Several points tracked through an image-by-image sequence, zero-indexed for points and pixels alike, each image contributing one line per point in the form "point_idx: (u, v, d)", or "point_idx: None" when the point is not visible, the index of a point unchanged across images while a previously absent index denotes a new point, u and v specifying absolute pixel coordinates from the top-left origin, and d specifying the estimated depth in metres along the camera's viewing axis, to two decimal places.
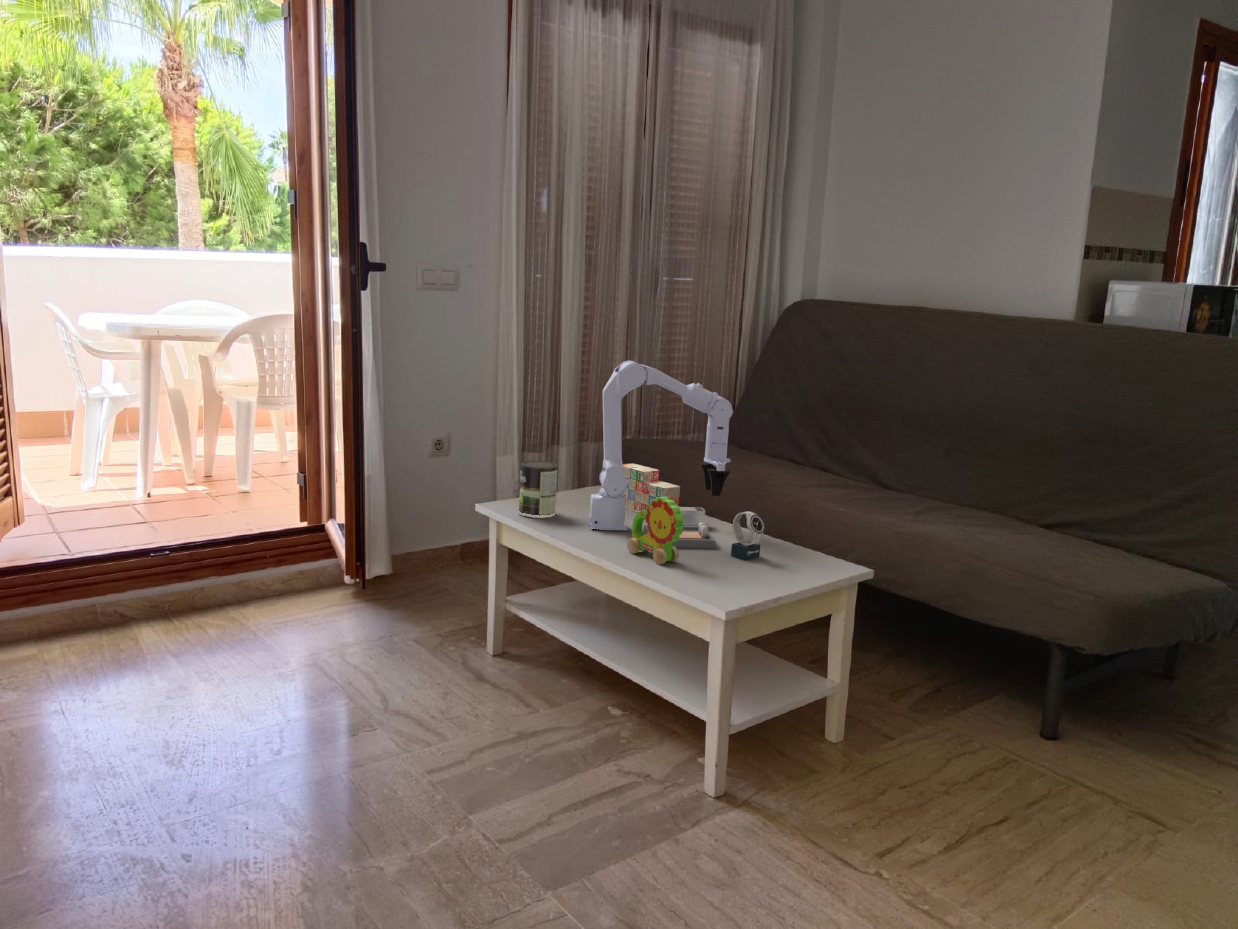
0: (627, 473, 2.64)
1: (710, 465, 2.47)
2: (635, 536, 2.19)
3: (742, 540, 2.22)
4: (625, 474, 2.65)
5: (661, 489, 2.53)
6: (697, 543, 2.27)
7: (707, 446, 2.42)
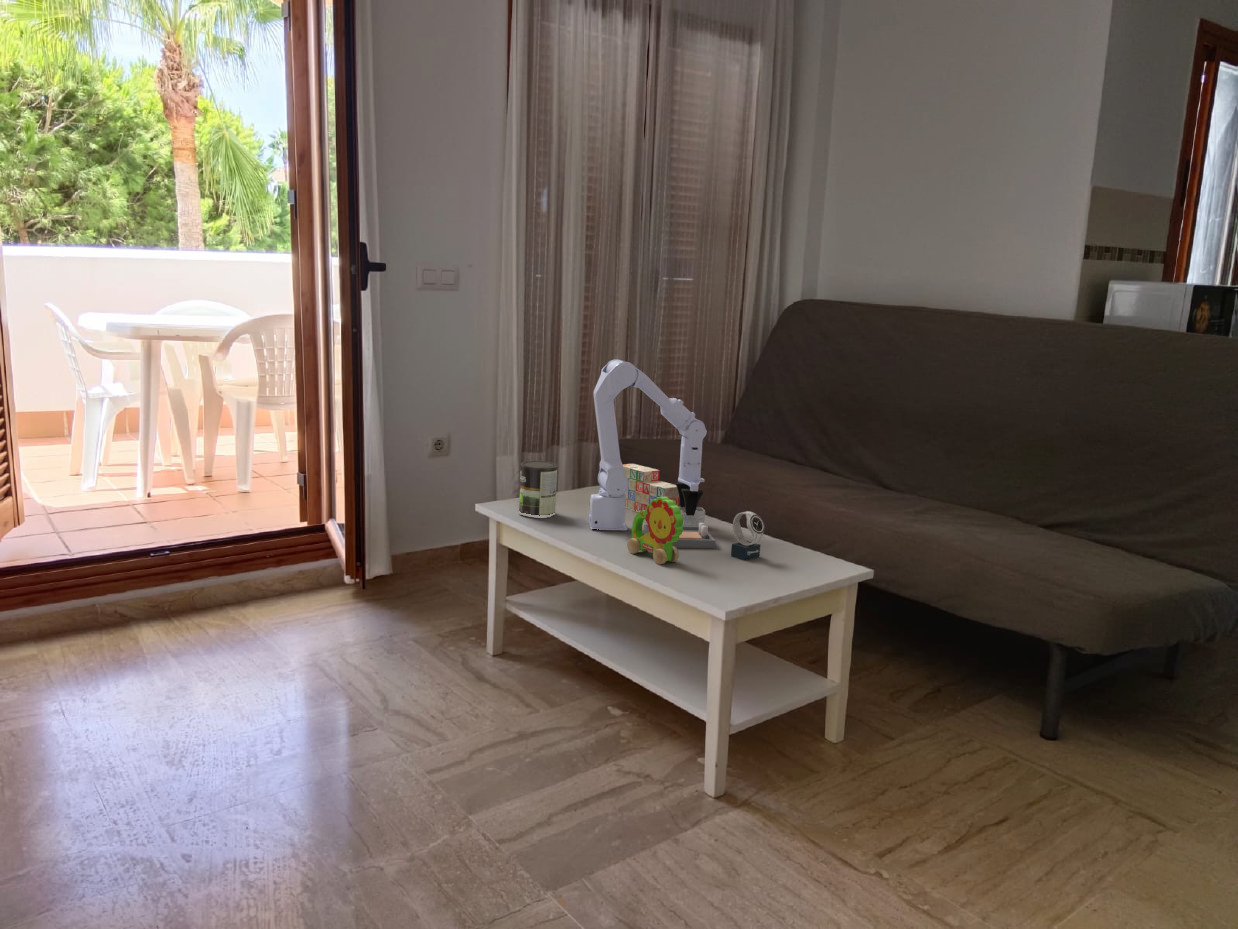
0: (627, 473, 2.64)
1: (685, 484, 2.50)
2: (635, 536, 2.19)
3: (742, 540, 2.22)
4: (625, 474, 2.65)
5: (662, 489, 2.53)
6: (697, 543, 2.27)
7: (680, 466, 2.44)
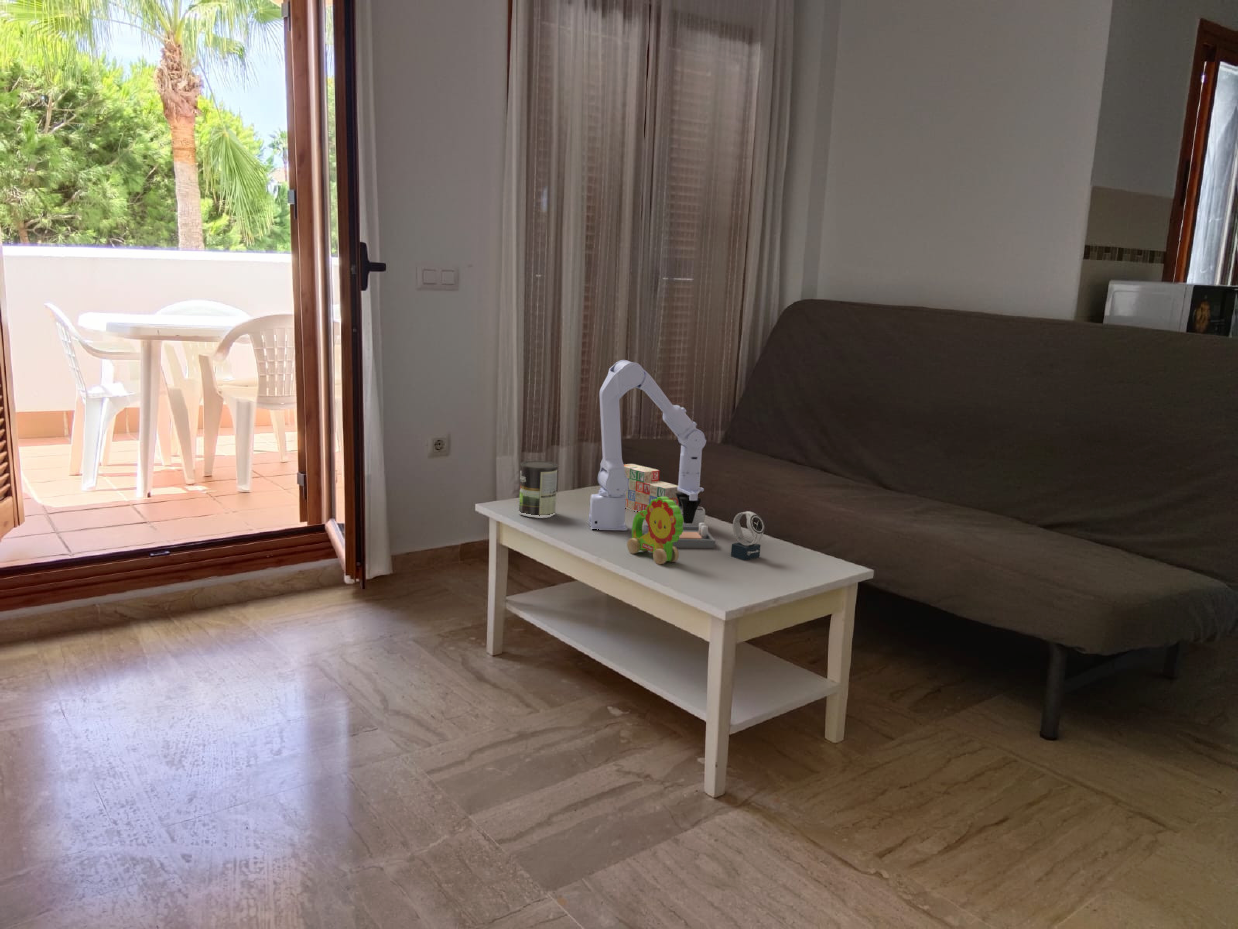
0: (627, 473, 2.64)
1: (685, 495, 2.49)
2: (635, 536, 2.19)
3: (742, 540, 2.22)
4: None
5: (662, 489, 2.53)
6: (697, 543, 2.27)
7: (680, 475, 2.45)
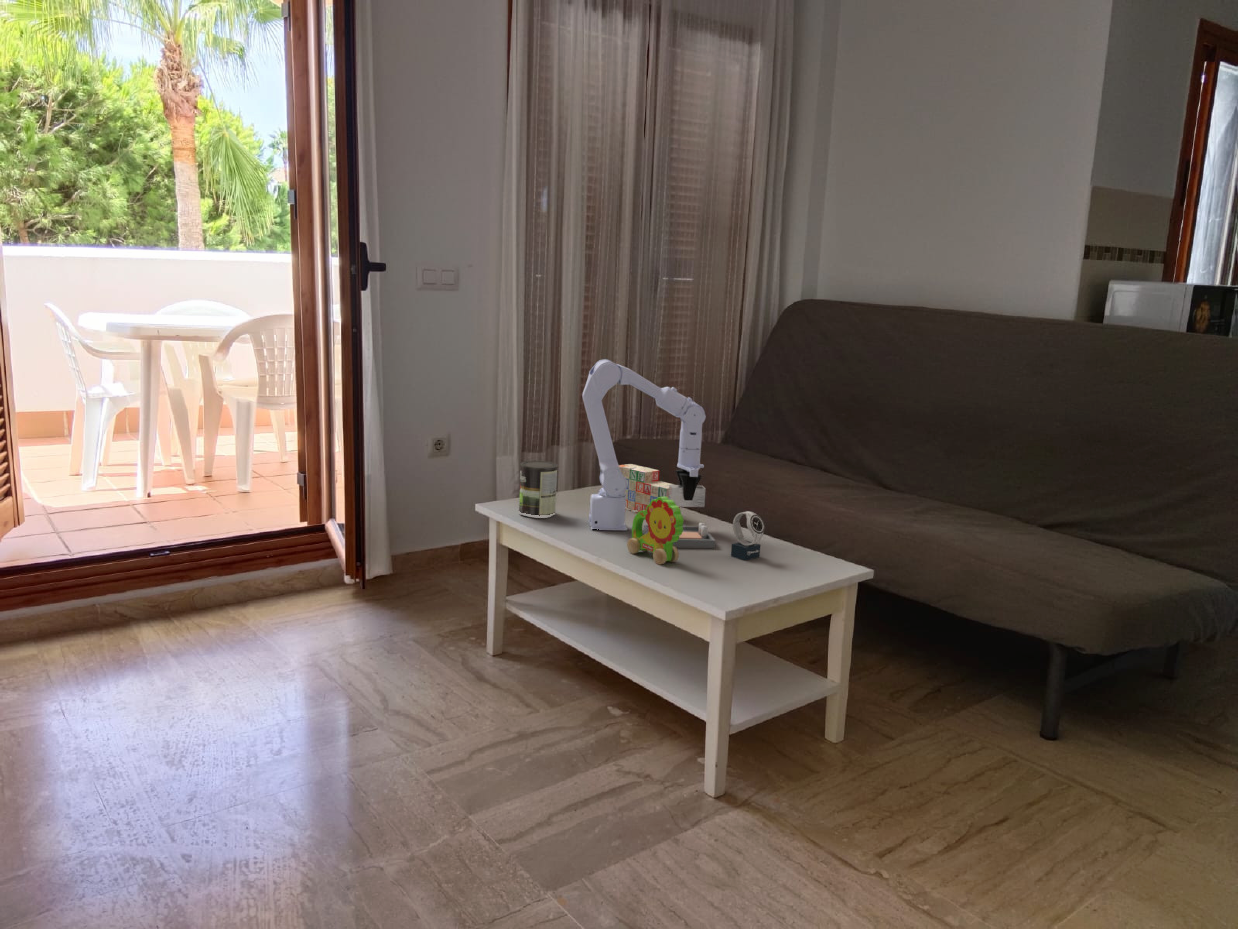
0: (626, 473, 2.63)
1: (685, 472, 2.45)
2: (635, 536, 2.19)
3: (742, 540, 2.22)
4: (624, 475, 2.64)
5: (664, 489, 2.53)
6: (697, 543, 2.27)
7: (680, 451, 2.41)
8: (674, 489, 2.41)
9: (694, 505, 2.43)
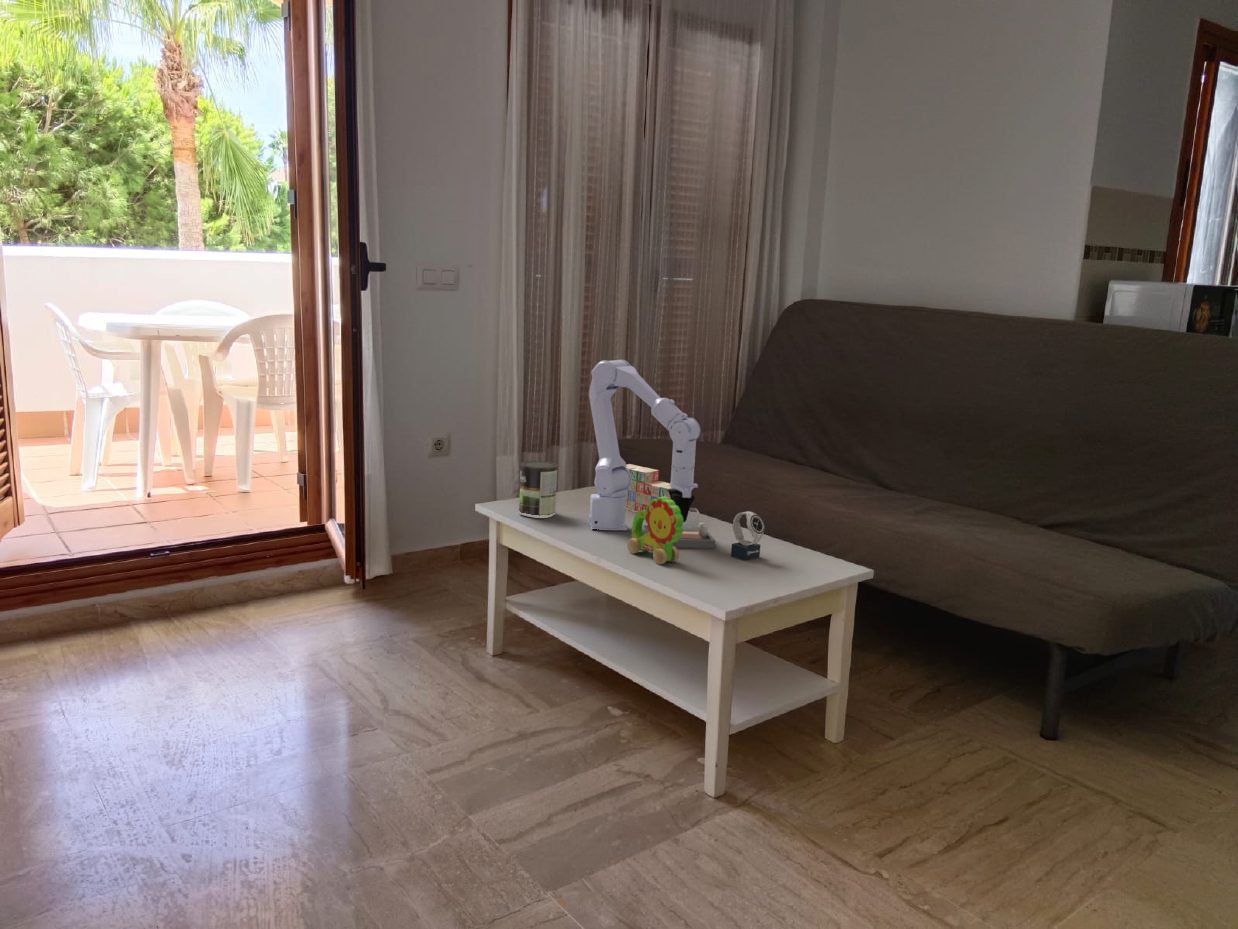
0: None
1: (678, 491, 2.33)
2: (635, 536, 2.19)
3: (742, 540, 2.22)
4: None
5: (665, 490, 2.53)
6: (697, 543, 2.27)
7: (672, 471, 2.29)
8: None
9: (687, 529, 2.31)
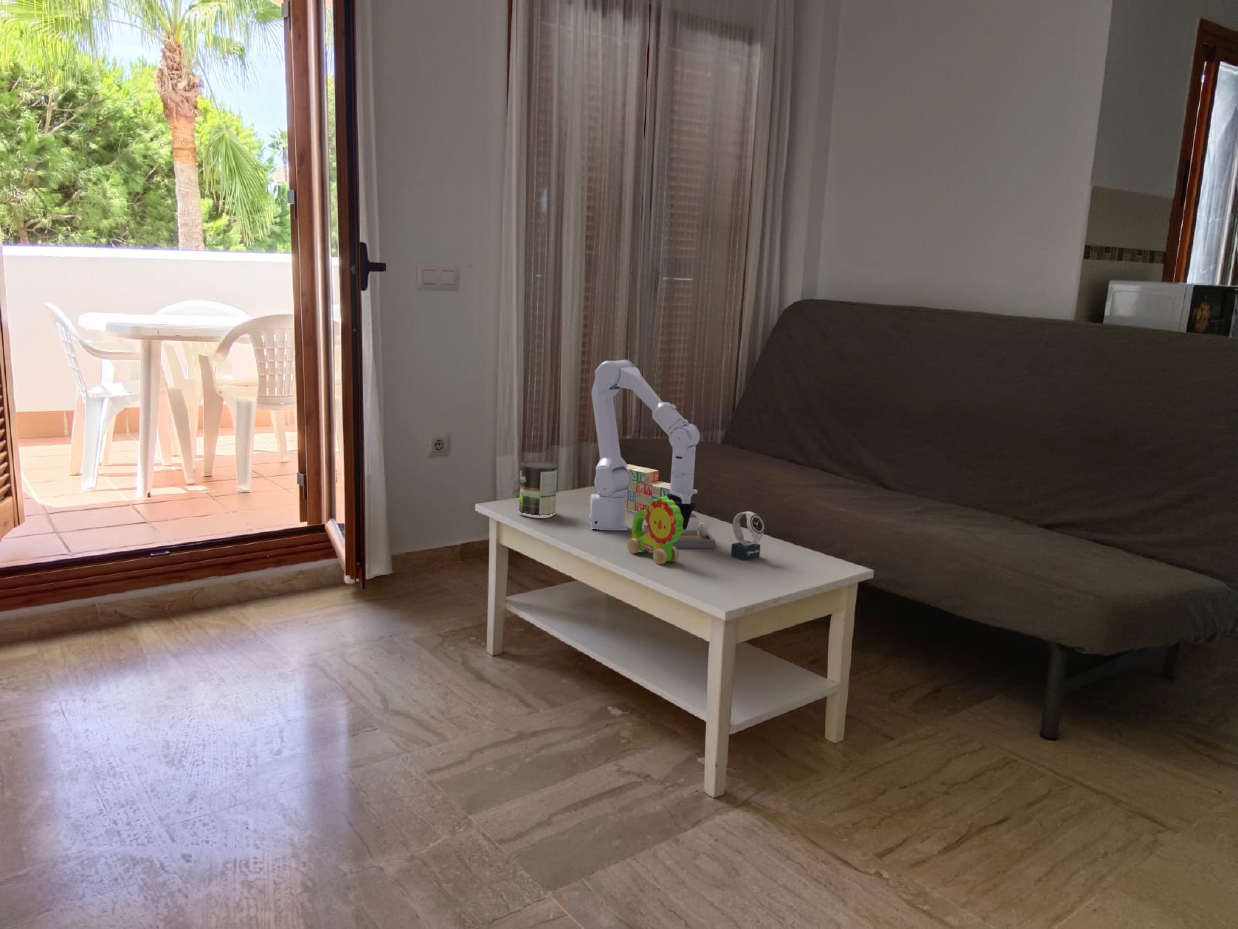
0: None
1: (676, 496, 2.35)
2: (635, 536, 2.19)
3: (742, 540, 2.22)
4: None
5: (666, 490, 2.52)
6: (697, 543, 2.27)
7: (672, 477, 2.29)
8: None
9: (687, 535, 2.31)
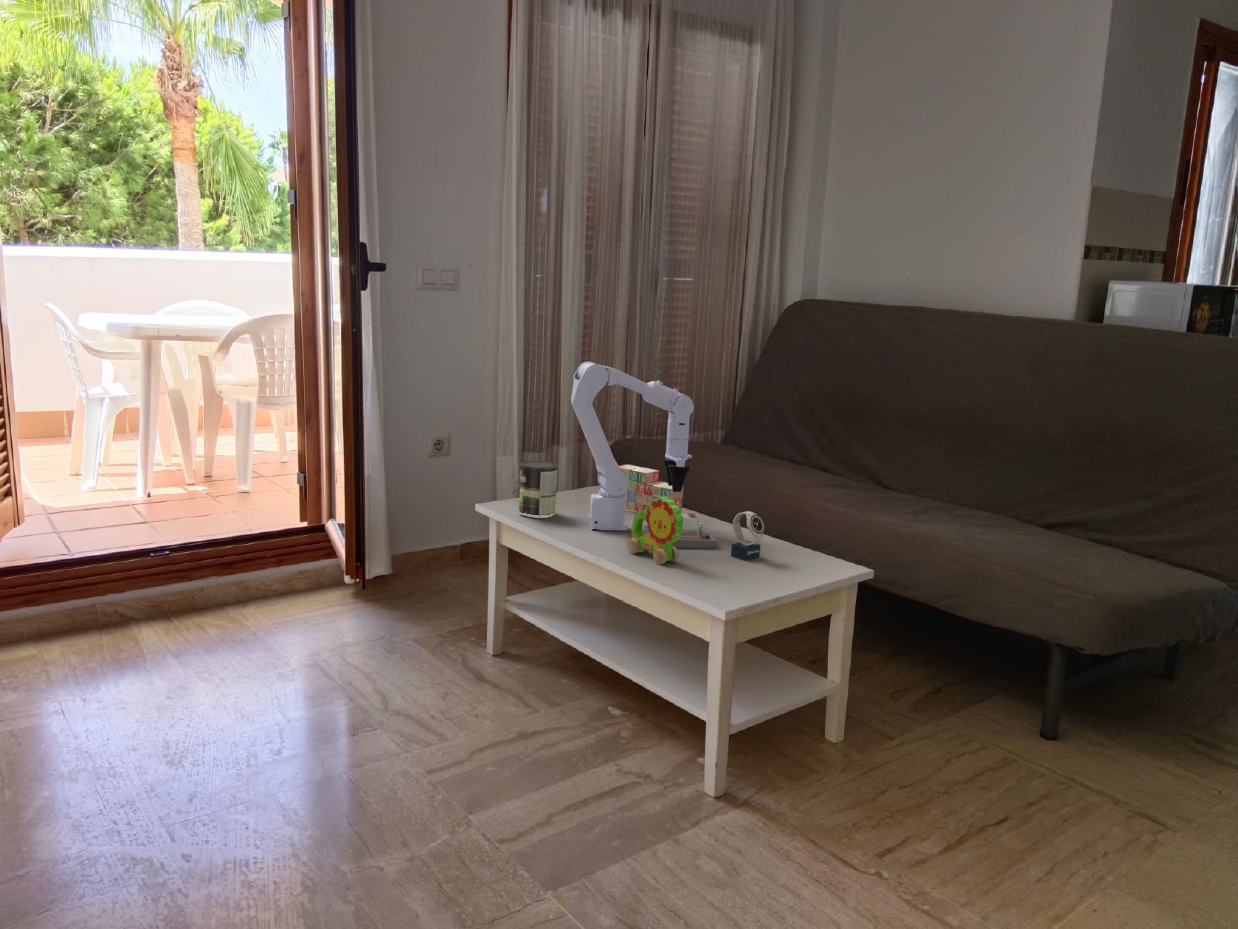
0: (626, 474, 2.62)
1: (672, 461, 2.48)
2: (635, 536, 2.19)
3: (742, 540, 2.22)
4: None
5: (667, 490, 2.52)
6: (697, 543, 2.27)
7: (667, 442, 2.42)
8: None
9: (687, 535, 2.31)
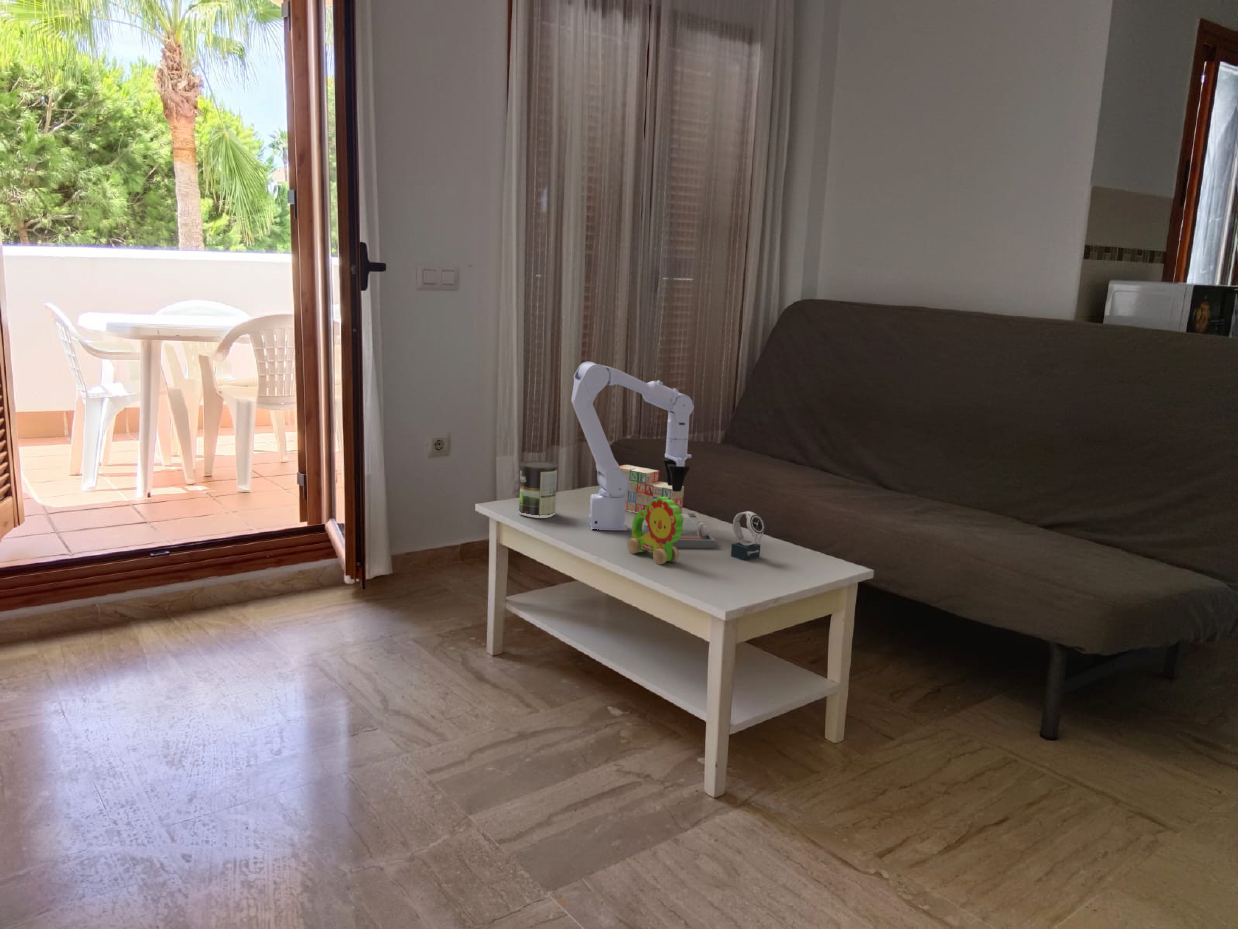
0: (626, 475, 2.61)
1: (671, 461, 2.49)
2: (635, 536, 2.19)
3: (742, 540, 2.22)
4: None
5: (668, 490, 2.52)
6: (697, 543, 2.27)
7: (667, 442, 2.43)
8: None
9: (687, 535, 2.31)
